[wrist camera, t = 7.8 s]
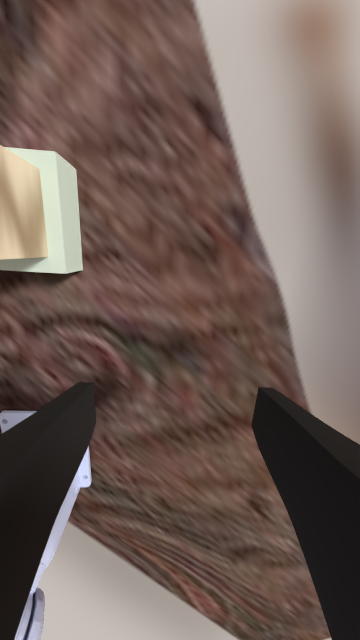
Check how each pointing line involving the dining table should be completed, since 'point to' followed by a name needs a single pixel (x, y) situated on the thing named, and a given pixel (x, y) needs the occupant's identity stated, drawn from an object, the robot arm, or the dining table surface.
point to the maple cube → (21, 209)
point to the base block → (54, 215)
